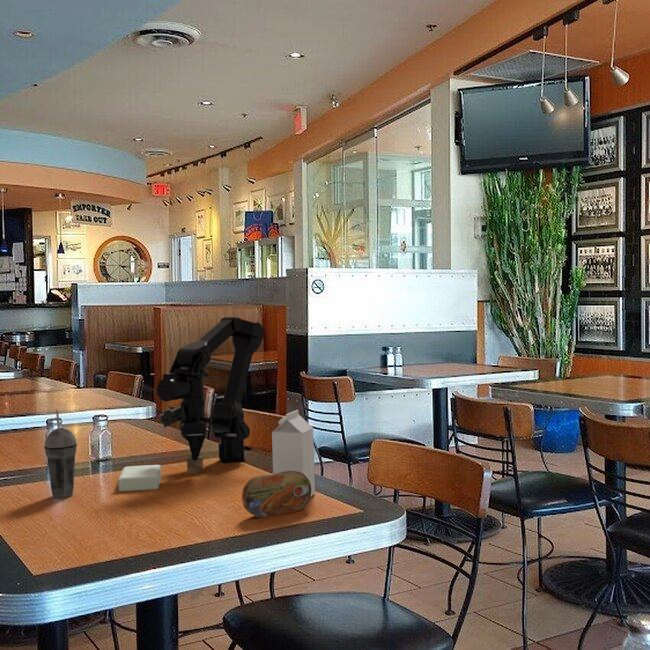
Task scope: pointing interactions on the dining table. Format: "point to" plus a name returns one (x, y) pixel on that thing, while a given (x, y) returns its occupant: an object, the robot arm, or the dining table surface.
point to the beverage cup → (61, 460)
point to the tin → (276, 494)
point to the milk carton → (294, 447)
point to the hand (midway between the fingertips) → (195, 456)
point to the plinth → (140, 478)
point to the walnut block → (194, 464)
